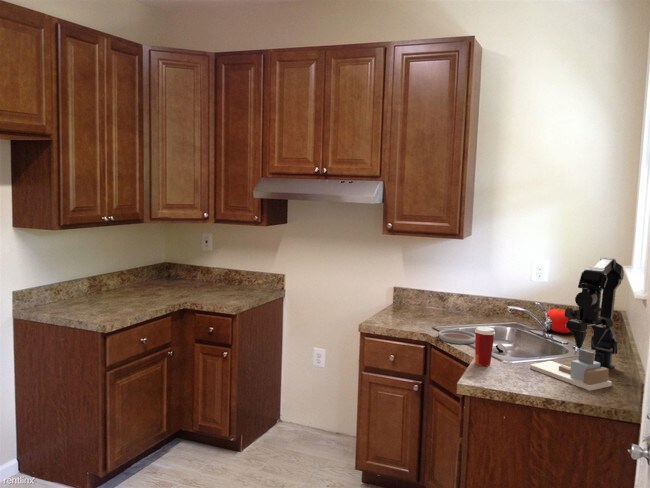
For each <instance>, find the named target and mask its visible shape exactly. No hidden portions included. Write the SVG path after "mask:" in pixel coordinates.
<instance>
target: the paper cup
mask: <svg viewBox="0 0 650 488" xmlns="http://www.w3.org/2000/svg"><path fill="white" fill-rule="evenodd" d="M474 332H475V333H474V334H475V342H474V343H475V344H474V346H475V348H474V351H475V353H474V354H475V355H474V357H475V358H474V363H475V365H477V366H479V367H489V366H491V362H492V354H493V345H494V339H495V338H494V335H495V334H496V332H495V328H492V327H488V326H478V327H476V328H475V330H474Z"/></svg>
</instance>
